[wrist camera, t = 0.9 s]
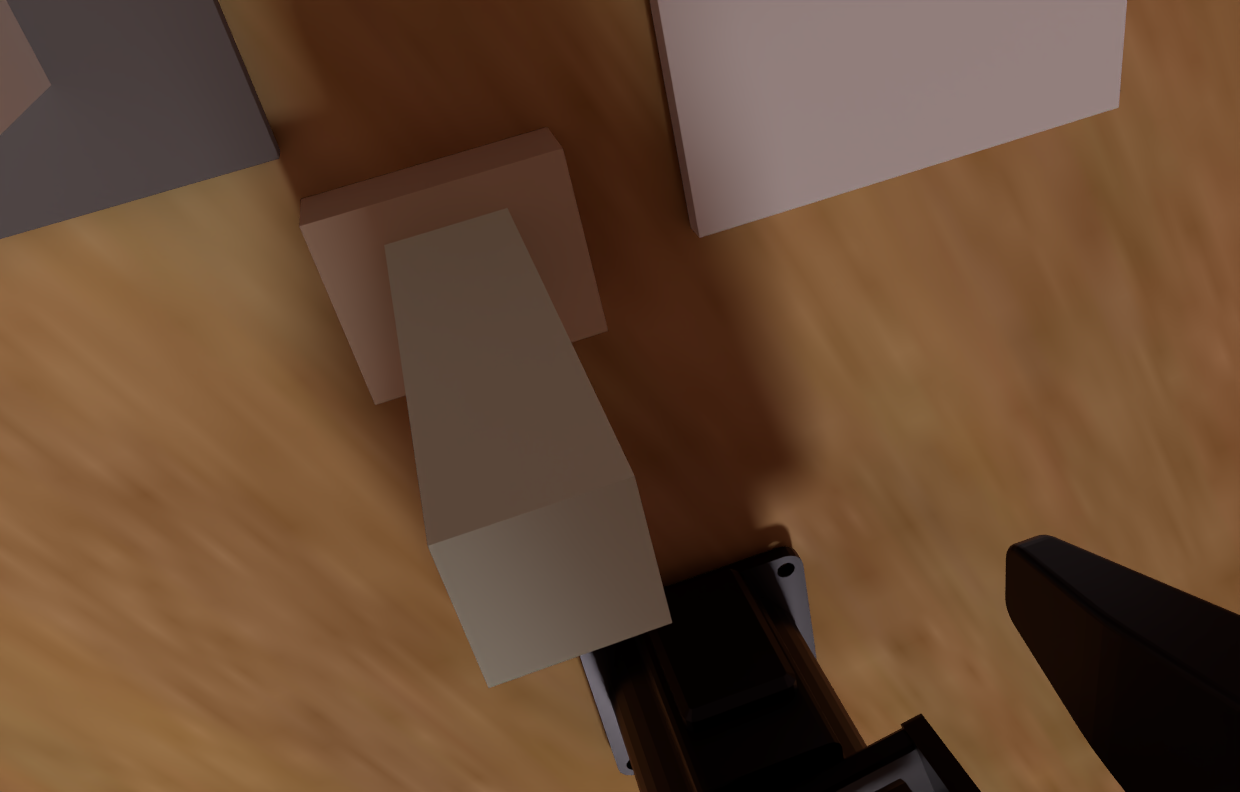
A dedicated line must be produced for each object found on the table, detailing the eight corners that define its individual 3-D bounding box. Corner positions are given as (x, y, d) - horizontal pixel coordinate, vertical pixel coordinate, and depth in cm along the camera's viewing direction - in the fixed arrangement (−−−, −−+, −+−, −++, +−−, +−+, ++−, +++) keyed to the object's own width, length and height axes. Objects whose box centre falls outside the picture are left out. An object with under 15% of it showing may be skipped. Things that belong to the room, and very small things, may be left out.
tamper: (591, 301, 21) (776, 631, 13) (372, 370, 21) (407, 764, 12) (547, 126, 19) (732, 381, 11) (300, 199, 19) (281, 530, 10)
